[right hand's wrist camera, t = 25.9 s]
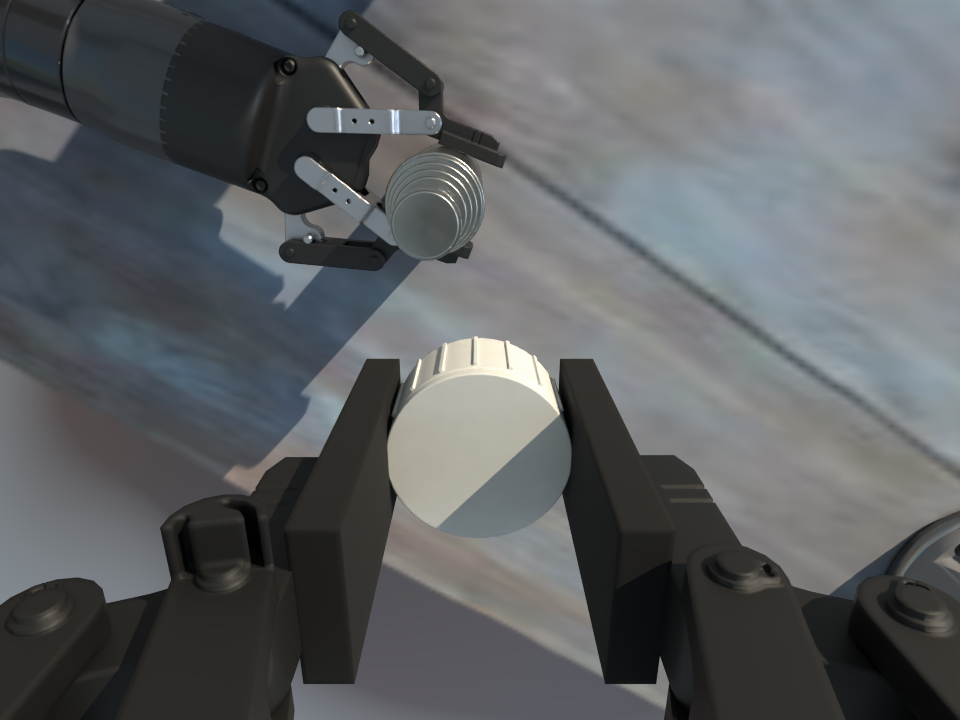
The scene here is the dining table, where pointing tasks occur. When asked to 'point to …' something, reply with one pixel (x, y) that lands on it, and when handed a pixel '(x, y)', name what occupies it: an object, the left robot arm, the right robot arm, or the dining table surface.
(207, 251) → the dining table surface
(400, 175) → the bottle
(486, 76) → the dining table surface
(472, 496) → the cap
